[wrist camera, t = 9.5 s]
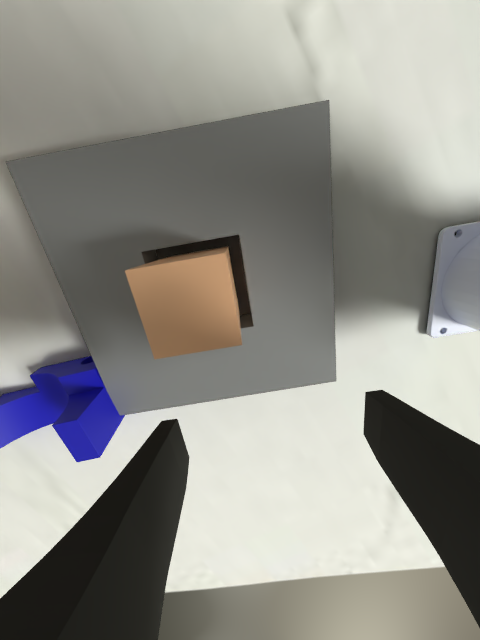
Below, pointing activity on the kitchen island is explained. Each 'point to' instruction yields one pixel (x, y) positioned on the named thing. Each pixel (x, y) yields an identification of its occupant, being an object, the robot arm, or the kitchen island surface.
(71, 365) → the cable clip
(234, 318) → the plug
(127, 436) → the kitchen island surface
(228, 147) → the socket plate
